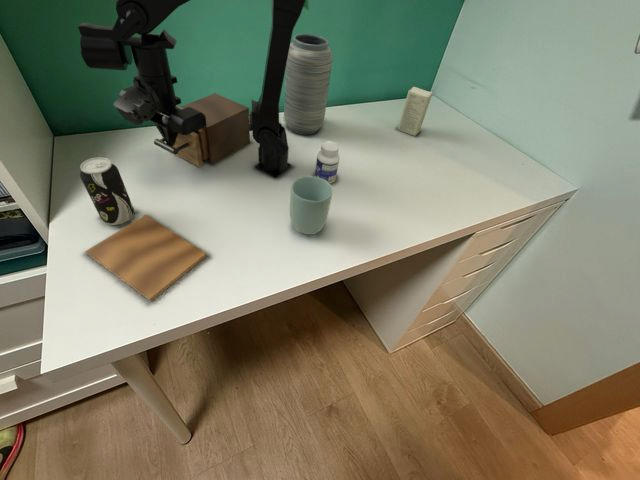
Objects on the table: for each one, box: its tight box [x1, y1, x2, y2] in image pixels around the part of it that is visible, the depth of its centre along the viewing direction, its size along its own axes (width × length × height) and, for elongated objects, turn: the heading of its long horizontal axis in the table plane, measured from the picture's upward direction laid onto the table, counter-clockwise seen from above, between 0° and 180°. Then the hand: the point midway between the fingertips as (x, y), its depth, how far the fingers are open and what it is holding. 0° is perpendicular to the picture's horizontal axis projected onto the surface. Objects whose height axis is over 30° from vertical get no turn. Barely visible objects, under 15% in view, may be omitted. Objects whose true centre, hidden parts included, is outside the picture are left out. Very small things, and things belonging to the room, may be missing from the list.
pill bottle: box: [314, 140, 340, 184], centre depth 77 cm, size 5×5×9 cm
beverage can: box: [79, 156, 135, 226], centre depth 59 cm, size 6×6×12 cm
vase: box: [283, 33, 334, 135], centre depth 88 cm, size 12×12×23 cm
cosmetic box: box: [397, 86, 433, 137], centre depth 98 cm, size 6×4×12 cm
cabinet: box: [180, 92, 251, 165], centre depth 81 cm, size 14×11×10 cm
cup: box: [289, 175, 333, 235], centre depth 64 cm, size 8×8×10 cm
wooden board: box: [85, 214, 208, 302], centre depth 58 cm, size 16×12×1 cm
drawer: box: [153, 128, 209, 168], centre depth 77 cm, size 17×10×8 cm, turn 148°
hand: (171, 145), depth 72 cm, fingers closed, pressing on drawer
